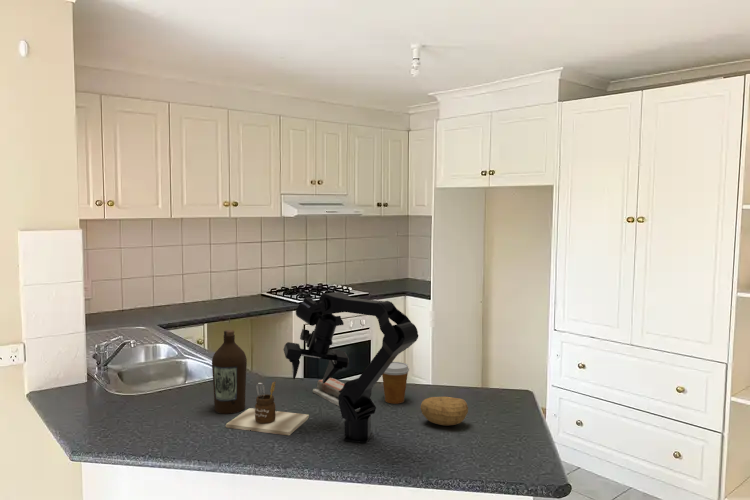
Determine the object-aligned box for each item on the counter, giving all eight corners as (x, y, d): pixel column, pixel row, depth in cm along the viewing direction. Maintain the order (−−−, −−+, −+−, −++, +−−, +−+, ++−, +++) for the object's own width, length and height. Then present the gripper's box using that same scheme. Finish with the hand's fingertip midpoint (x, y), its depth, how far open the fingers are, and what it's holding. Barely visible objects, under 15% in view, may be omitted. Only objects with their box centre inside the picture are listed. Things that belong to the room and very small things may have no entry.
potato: (422, 416, 173) (423, 390, 172) (469, 420, 169) (469, 394, 169) (417, 428, 163) (417, 401, 163) (466, 433, 160) (466, 405, 159)
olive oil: (219, 402, 184) (218, 327, 182) (251, 403, 183) (250, 327, 182) (207, 414, 173) (206, 334, 172) (241, 415, 173) (240, 334, 171)
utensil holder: (263, 415, 170) (262, 376, 169) (280, 418, 167) (280, 379, 166) (250, 422, 165) (250, 381, 164) (268, 425, 162) (268, 384, 161)
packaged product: (311, 379, 195) (336, 375, 201) (311, 393, 195) (336, 388, 201) (339, 393, 180) (365, 387, 186) (339, 408, 181) (364, 402, 187)
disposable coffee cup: (414, 402, 186) (415, 366, 185) (391, 407, 180) (391, 370, 180) (397, 394, 194) (397, 359, 193) (374, 399, 188) (374, 364, 187)
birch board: (308, 418, 171) (308, 414, 171) (289, 435, 157) (289, 432, 157) (249, 411, 176) (249, 408, 176) (225, 427, 163) (225, 424, 163)
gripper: (346, 326, 173) (332, 371, 176) (288, 316, 166) (274, 362, 169) (356, 343, 163) (340, 390, 166) (294, 332, 156) (279, 382, 159)
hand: (308, 380), depth 166 cm, fingers open, 9 cm apart
